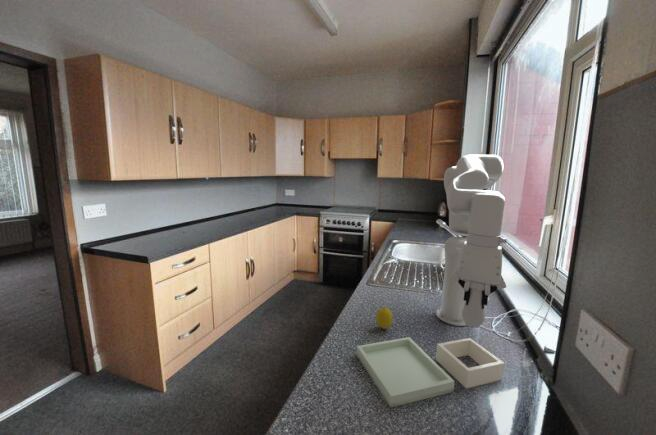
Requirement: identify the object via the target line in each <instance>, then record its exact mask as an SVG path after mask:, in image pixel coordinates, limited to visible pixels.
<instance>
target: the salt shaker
mask: <svg viewBox="0 0 656 435" xmlns="http://www.w3.org/2000/svg"><path fill="white" fill-rule="evenodd" d="M469 287H470V299H469V302H468V305H466V301H465V304H464V307H463V310H462V317H463V320H464V322H465V324H466V325H467V326H468V327H471V328H477V329H478V328H480V326H482V324H483V323H484V322H485V320H486V314H485V312H486V311H485V308H484V309H482V304H481V303H482V294H483V290H485V284H484V283H479V282H473V281H471V282H470V286H469Z"/></svg>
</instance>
